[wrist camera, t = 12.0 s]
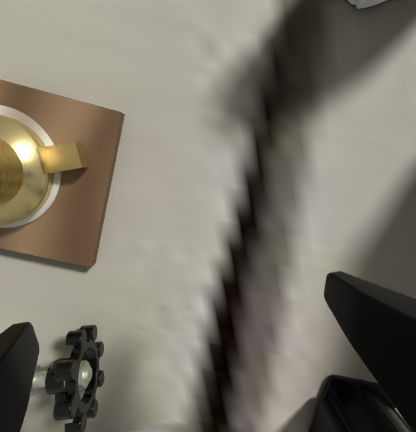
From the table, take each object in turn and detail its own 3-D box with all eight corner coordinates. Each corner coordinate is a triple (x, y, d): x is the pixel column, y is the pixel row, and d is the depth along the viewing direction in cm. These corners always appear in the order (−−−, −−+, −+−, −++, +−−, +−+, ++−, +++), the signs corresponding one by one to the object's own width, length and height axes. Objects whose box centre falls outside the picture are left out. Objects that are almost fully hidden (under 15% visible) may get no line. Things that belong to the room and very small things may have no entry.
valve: (-42, 395, 23) (109, 380, 24) (-130, 485, 17) (79, 462, 17) (-62, 321, 22) (98, 306, 23) (-166, 387, 16) (61, 365, 16)
